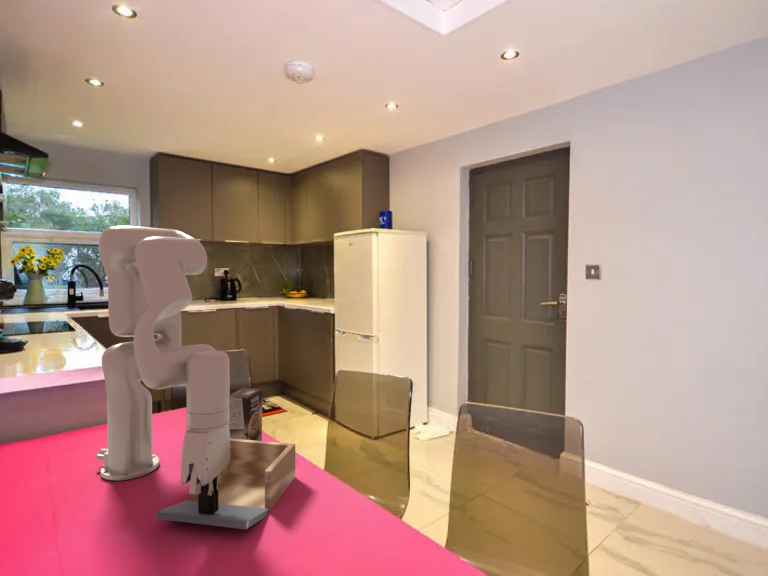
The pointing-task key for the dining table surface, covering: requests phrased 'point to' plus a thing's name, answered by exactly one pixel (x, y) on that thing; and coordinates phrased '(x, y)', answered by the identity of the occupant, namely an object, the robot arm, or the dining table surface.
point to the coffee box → (246, 414)
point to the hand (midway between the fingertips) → (208, 511)
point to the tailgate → (214, 515)
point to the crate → (256, 473)
